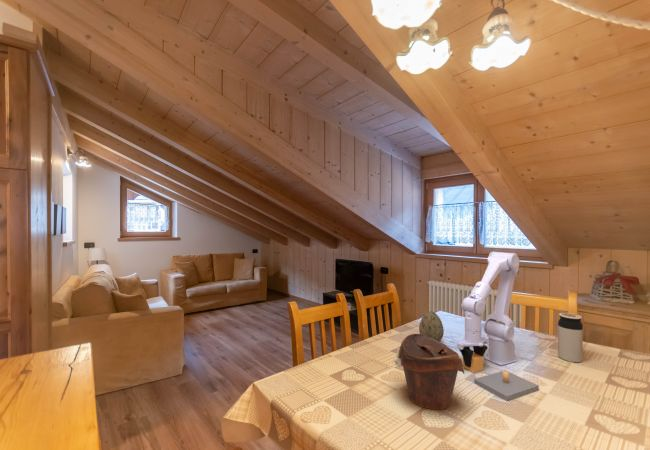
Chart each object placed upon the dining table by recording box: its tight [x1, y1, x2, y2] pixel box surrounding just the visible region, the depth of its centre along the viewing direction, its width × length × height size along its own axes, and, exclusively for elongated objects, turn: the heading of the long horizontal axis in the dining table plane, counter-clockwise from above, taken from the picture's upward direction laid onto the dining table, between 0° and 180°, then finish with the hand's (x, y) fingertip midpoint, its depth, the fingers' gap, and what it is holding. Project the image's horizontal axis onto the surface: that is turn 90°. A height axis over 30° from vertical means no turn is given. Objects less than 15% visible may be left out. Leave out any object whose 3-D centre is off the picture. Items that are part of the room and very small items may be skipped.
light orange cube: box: [462, 353, 484, 373], centre depth 119 cm, size 5×5×5 cm
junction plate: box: [473, 369, 540, 402], centre depth 106 cm, size 16×12×5 cm
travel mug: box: [557, 312, 584, 363], centre depth 129 cm, size 8×8×18 cm
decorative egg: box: [418, 310, 445, 342], centre depth 144 cm, size 11×11×15 cm
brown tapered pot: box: [398, 333, 465, 411], centre depth 98 cm, size 18×20×18 cm
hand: (472, 364), depth 119 cm, fingers closed on light orange cube, 5 cm apart
